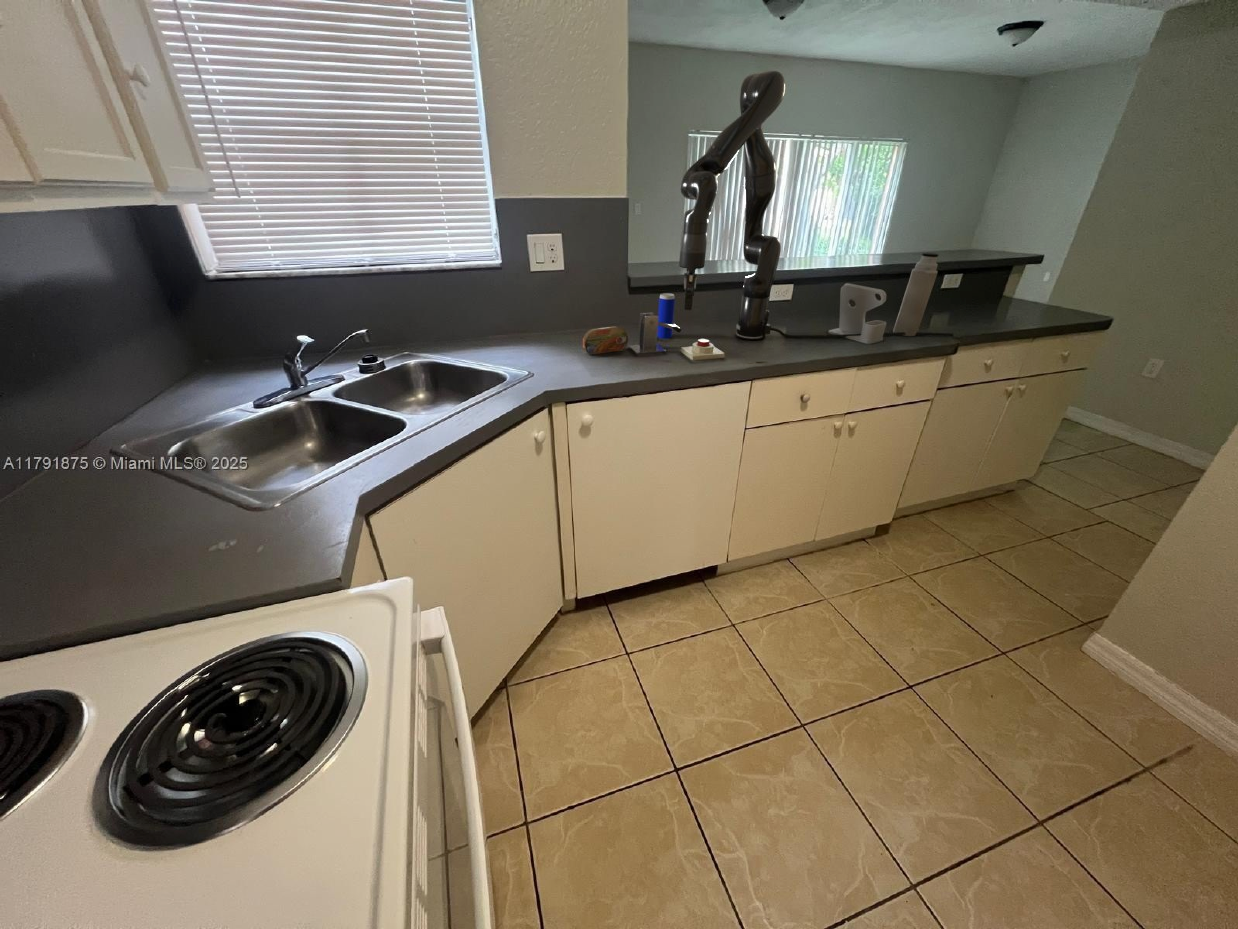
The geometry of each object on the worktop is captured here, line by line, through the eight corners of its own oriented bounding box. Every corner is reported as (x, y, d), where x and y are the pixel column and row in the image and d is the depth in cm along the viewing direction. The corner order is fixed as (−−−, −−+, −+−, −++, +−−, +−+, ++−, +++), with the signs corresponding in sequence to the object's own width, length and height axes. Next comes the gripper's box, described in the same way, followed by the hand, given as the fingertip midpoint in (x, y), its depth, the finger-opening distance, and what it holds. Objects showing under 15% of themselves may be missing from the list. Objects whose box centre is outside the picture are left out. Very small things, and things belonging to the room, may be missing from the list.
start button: (705, 343, 154) (706, 338, 153) (710, 347, 151) (711, 341, 150) (695, 344, 153) (696, 339, 152) (700, 348, 150) (701, 342, 149)
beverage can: (671, 337, 172) (675, 293, 165) (671, 341, 168) (675, 296, 160) (657, 336, 173) (659, 292, 165) (656, 340, 168) (659, 295, 161)
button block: (710, 351, 159) (712, 339, 157) (724, 360, 152) (725, 347, 150) (680, 354, 156) (681, 341, 154) (692, 363, 149) (693, 350, 147)
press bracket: (656, 346, 162) (659, 310, 156) (666, 354, 156) (668, 316, 150) (628, 349, 160) (629, 312, 154) (636, 356, 153) (638, 318, 147)
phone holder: (885, 340, 174) (901, 288, 165) (869, 344, 170) (884, 291, 160) (842, 328, 187) (855, 279, 178) (826, 332, 182) (838, 282, 173)
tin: (585, 358, 150) (585, 331, 146) (581, 355, 153) (580, 328, 148) (628, 352, 157) (628, 326, 152) (623, 349, 159) (624, 323, 155)
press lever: (673, 330, 159) (676, 323, 158) (679, 334, 155) (682, 327, 154) (640, 321, 154) (643, 313, 154) (646, 325, 150) (649, 317, 149)
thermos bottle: (894, 329, 188) (918, 250, 174) (917, 332, 184) (944, 252, 170) (891, 333, 182) (916, 253, 168) (915, 337, 179) (943, 255, 164)
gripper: (706, 253, 136) (700, 312, 144) (705, 247, 148) (699, 302, 156) (679, 252, 137) (675, 311, 145) (680, 246, 149) (676, 300, 157)
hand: (687, 306), depth 151 cm, fingers open, 8 cm apart
